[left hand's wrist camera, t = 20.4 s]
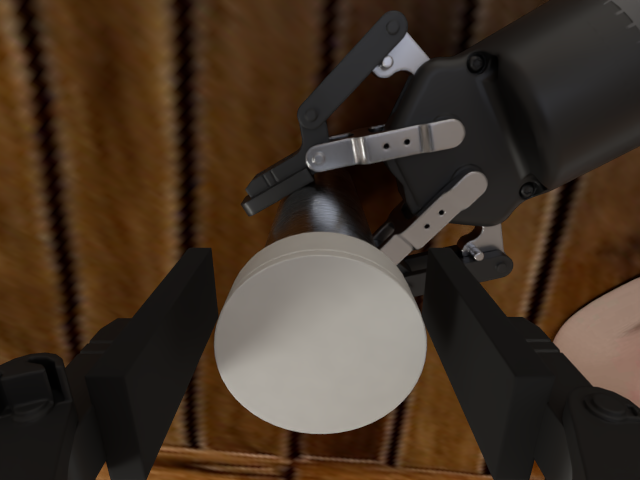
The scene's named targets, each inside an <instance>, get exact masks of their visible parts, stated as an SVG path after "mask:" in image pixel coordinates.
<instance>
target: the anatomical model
mask: <svg viewBox="0 0 640 480" xmlns="http://www.w3.org/2000/svg"><path fill="white" fill-rule="evenodd" d="M553 343H554V344H555V345H556V346H557V347H558V348H559V349H560V353H563V354H564V355H565V356H566V357H567V358H568V359H569V360H570V361H571V363H572V364H573V365H574V366H575V367H576V368H577V369H578V370H579V371H580V372H581V374H582V375H583V376H584V377H585V378H586V379H587V380H588V381H589V382H590V383H591V384H592V386H594V387H600V388H603V389H607V390H610V391H613V392H615V393H617V394H619V395H621V396H623V397H625V398H627V399H629V400H630V401H631V402H633V403H634V404H635V405H637V406H638V407H639V408H640V277H639V278H637V279H634V280H632V281H630V282H628V283H626V284H624V285H622V286H620V287H618V288H616V289H614V290H612V291H610V292H609V293H607V294H605V295H603V296H601V297H600V298H598V299H596V300H594V301H593V302H591V303H590V304H588V305H587V306H585V307H584V308H582V309H580V310H579V311H578V312H577V313H575V314H574V315H573V316H572V317H570V318H569V319H568V320H567V321H566V322H565V323H564V325H563V326H562V327H561V328H560V330H559V331H558V333H557V335H556V336H555V339H554V341H553Z"/></svg>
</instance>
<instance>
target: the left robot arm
mask: <svg viewBox="0 0 640 480" xmlns="http://www.w3.org/2000/svg"><path fill="white" fill-rule="evenodd" d="M217 319H218V308H217V299H216V289H215V279H214V270H213V260H212V250H211V248H189V249H188V250H187V251H186V252H185V254H184V255H183V256H182V257H181V259H180V260H179V261H178V262H177V263H176V265H175V266H174V267H173V268H172V270H171V271H170V272H169V273H168V275H167V276H166V277H165V278H164V279H163V281H162V282H161V283H160V284H159V286H158V287H157V288H156V289H155V290H154V292H153V293H152V294H151V295H150V297H149V298H148V299H147V300H146V302H145V303H144V304H143V305H142V306H141V308H140V309H139V310H138V311H137V313H136V314H135V315H134V316H133V318H118V319H116V320H114V321H113V322H111V323H109V324H108V325H106V326H105V327H103V328H101V329H100V330H99V331H98V333H97V334H96V335H95V336H94V337H93V338H92V339H91V340H90V343H89V344H87V345H86V346H85V347H84V348H83V349H82V350H81V351H80V354H78V355H77V356H76V357H75V358H74V359H73V360H72V361H71V362H70V363H69V364H68V366H67V367H66V368H65V367H64V363H63V359H62V358H61V357H59V356H58V355H56V354H51V353H36V354H29V355H26V356H22V357H19V358H15V359H13V360H11V361H8V362H6V363H4V364H2V365H0V480H95V479H96V477H97V475H98V474H99V472H100V470H101V468H102V467H103V465H104V463H105V461H106V463H107V467H108V471H109V475H110V479H111V480H146V479H147V477H148V475H149V473H150V470H151V468H152V466H153V464H154V461H155V459H156V457H157V455H158V452H159V450H160V448H161V446H162V443H163V441H164V439H165V436H166V434H167V432H168V430H169V427H170V425H171V423H172V421H173V418H174V416H175V414H176V412H177V409H178V407H179V405H180V403H181V400H182V398H183V396H184V394H185V391H186V389H187V387H188V384H189V382H190V380H191V378H192V375H193V373H194V371H195V369H196V366H197V364H198V362H199V360H200V357H201V355H202V353H203V351H204V348H205V346H206V344H207V342H208V339H209V337H210V335H211V332H212V330H213V328H214V326H215V323H216V321H217ZM422 319H423V321H424V323H425V326H426V328H427V330H428V332H429V335H430V337H431V339H432V342H433V344H434V346H435V348H436V351H437V353H438V355H439V357H440V360H441V362H442V364H443V366H444V369H445V371H446V373H447V375H448V378H449V380H450V382H451V384H452V387H453V389H454V391H455V394H456V396H457V398H458V400H459V403H460V405H461V407H462V409H463V412H464V414H465V416H466V418H467V421H468V423H469V425H470V427H471V430H472V432H473V434H474V436H475V439H476V441H477V443H478V446H479V448H480V450H481V452H482V455H483V457H484V459H485V461H486V464H487V466H488V468H489V470H490V473H491V475H492V477H493V479H494V480H529V479H530V475H531V471H532V467H533V463H534V459H535V461H536V463H537V464H538V466H539V468H540V470H541V471H542V473H543V475H544V477H545V480H640V408H639V407H638V406H637V405H635V404H634V403H633V402H631V401H630V400H629V399H627V398H625V397H623V396H621V395H619V394H617V393H615V392H613V391H610V390H607V389H603V388H600V387H594V386H592V384H591V383H590V382H589V381H588V380H587V379H586V378H585V377H584V376H583V375H582V374H581V372H580V371H579V370H578V369H577V368H576V367H575V366H574V365H573V364H572V363H571V361H570V360H569V359H568V358H567V357H566V356H565V355H564V354H563V353H560V349H559V348H558V347H557V346H556V345H555V344H554V343H553V342H551V340H550V338H549V337H548V336H547V335H546V334H545V333H544V332H543V331H542V330H541V329H540V328H539V327H538V326H536V325H535V324H533V323H531V322H530V321H528V320H526V319H525V318H523V317H507V316H506V315H505V314H504V313H503V311H502V310H501V309H500V308H499V306H498V305H497V304H496V303H495V302H494V300H493V299H492V298H491V297H490V295H489V294H488V293H487V292H486V290H485V289H484V288H483V287H482V286H481V284H480V283H479V282H478V281H477V279H476V278H475V277H474V276H473V275H472V273H471V272H470V271H469V270H468V268H467V267H466V266H465V265H464V263H463V262H462V261H461V260H460V259H459V257H458V256H457V255H456V254H455V252H454V251H453V250H452V249H451V248H429V250H428V260H427V270H426V279H425V289H424V299H423V308H422Z"/></svg>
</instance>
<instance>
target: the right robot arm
mask: <svg viewBox="0 0 640 480" xmlns="http://www.w3.org/2000/svg"><path fill="white" fill-rule="evenodd" d="M407 29H408V23H407V20H406V18H405V16H404V15H403V14H402V13H401V12H399V11H389V12H387V13H385V14H384V15H383V16H382V17H381V18H380V19H379V20H378V21H377V23H376V24H375V25H374V26H373V27H372V28H371V29H370V30H369V31H368V32H367V33H366V35H365V36H364V37H363V38H362V39H361V40H360V41H359V42H358V43H357V44H356V46H355V47H354V48H353V49H352V50H351V51H350V52H349V53H348V54H347V55H346V56H345V58H344V59H343V60H342V61H341V62H340V63H339V64H338V65H337V66H336V67H335V69H334V70H333V71H332V72H331V73H330V74H329V75H328V76H327V77H326V78H325V79H324V81H323V82H322V83H321V84H320V85H319V86H318V87H317V88H316V89H315V90H314V91H313V93H312V94H311V95H310V96H309V97H308V98H307V99H306V100H305V101H304V102H303V104H302V105H301V106H300V107H299V109H298V113H297V117H298V121H299V124H300V129H301V135H302V145H301V147H300V148H299V149H298V150H297V151H296V152H294V153H292V154H291V155H289V156H287V157H286V158H284V159H282V160H280V161H279V162H277V163H275V164H274V165H272V166H270V167H269V168H267V169H265V170H263V171H262V172H260V173H258V174H257V175H256V176H255V177H254V178H253V180H252V181H251V182H250V184H249V185H248V186H247V188H246V189H245V190H246V191H247V193H248V195H247V196H246V197H245V199H244V200H243V202H242V203H241V205H242V207H243V209H244V210H245V212H246V213H247V215H248V216H252V215H254V214H256V213H258V212H260V211H261V210H263V209H265V208H267V207H268V206H270V205H272V204H274V203H275V202H277V201H279V200H281V199H283V198H284V197H286V196H288V195H290V194H291V193H293V192H295V191H296V190H298V189H300V188H302V187H304V186H305V185H307V184H309V183H311V182H312V181H314V174H316V173H317V172H322V171H327V170H332V169H337V168H341V167H346V166H351V165H356V164H361V165H365V164H371V163H376V162H381V161H383V162H384V164H385V165H386V167H387V168H388V169H389V170H390V171H391V173H392V174H393V175H394V176H395V177H396V181H397V186H398V190H399V193H400V195H401V197H402V199H403V200H402V201H401V202H400V203H399V204H398V205H397V206H396V207H395V208H394V209H393V210H392V212H391V213H390V215H389V217H388V219H387V220H386V222H385V223H384V224H383V225H381V226H380V227H379V228H378V229H377V230H376V231H375V232H374V233H373V234H372V237H373V240H374V243H375V245H376V248H377V249H379V250H380V251H381V252H383V253H384V254H385V255H386V256H388V257H389V258H390V259H391V261H392V262H393V263H394V264H395V265H396V266H397V267H398V269H399V270H400V271H401V273H402V274H403V276H404V278H405V280H406V282H407V284H408V286H409V288H410V290H411V293H412V295H413V297H415V296H420V295H424V289H425V279H426V270H427V260H428V251H427V252H422V253H418V254H413V255H409V256H407V255H408V254H409V253H410V252H411V251H413V250H418V249H420V248H422V247H423V246H424V245H425V244H426V243H427V242H428V241H429V240H430V239H431V238H433V237H434V236H435V235H436V234H437V233H438V232H439V231H440V230H441V229H442V228H443V227H444V226H445V225H446V224H447V223H453V224H463V225H473V226H475V228H474V229H473V231H472V232H470V233H469V234H466V235H464V236H462V237H460V239H459V240H458V242H457V245H453V246H449V247H444V248H451V249H452V250H453V251H454V252H455V254H456V255H457V256H458V257H459V259H460V260H461V261H462V262H463V263H464V265H465V266H466V267H467V268H468V270H469V271H470V272H471V273H472V275H473V276H474V277H475V278H476V279H477V281H478V282H484V281H488V280H493V279H497V278H502V277H505V276H507V275H508V274H509V273H510V272H511V271H512V269H513V262H512V260H511V259H510V258H509V257H508V256H507V255H506V254H505V252H504V250H503V240H502V230H501V223H502V222H504V221H505V220H506V219H507V218H508V217H509V216H510V215H511V213H512V212H513V211H514V210H515V209H516V208H517V207H518V206H519V205H520V204H521V203H522V202H524V201H525V200H527V199H529V198H532V197H535V196H538V195H541V194H543V193H546V192H549V191H551V190H553V189H555V188H557V187H559V186H561V185H563V184H565V183H567V182H569V181H571V180H573V179H575V178H577V177H579V176H581V175H583V174H585V173H587V172H589V171H591V170H593V169H595V168H597V167H599V166H601V165H603V164H605V163H607V162H609V161H611V160H613V159H615V158H617V157H619V156H621V155H623V154H625V153H627V152H629V151H631V150H633V149H635V148H637V147H639V146H640V0H550V1H548V2H546V3H545V4H543V5H541V6H539V7H538V8H536V9H534V10H533V11H531V12H529V13H528V14H526V15H524V16H523V17H521V18H519V19H517V20H516V21H514V22H512V23H511V24H509V25H507V26H506V27H504V28H502V29H500V30H499V31H497V32H495V33H494V34H492V35H490V36H489V37H487V38H485V39H484V40H482V41H480V42H478V43H477V44H475V45H473V46H472V47H470V48H468V49H467V50H465V51H463V52H461V53H459V54H457V55H455V56H452V57H436V58H432V59H429V58H428V56H427V55H426V54H425V53H424V52H423V50H422V49H421V48H420V47H419V46H418V45H417V43H416V42H415V41H414V40H413V39H412V37H411V36H410V35H409V34H408V33H407ZM397 71H404V72H406V73H407V74H408V75H409V77H408V79H407V81H406V83H405V85H404V88H403V90H402V92H401V94H400V96H399V98H398V100H397V102H396V104H395V106H394V108H393V110H392V112H391V114H390V116H389V118H388V120H387V122H386V123H383V124H378V125H374V126H369V127H364V128H360V129H355V130H352V131H350V132H346V133H342V134H337V135H332V136H329V135H328V129H327V123H326V119H327V118H328V117H329V116H330V115H331V114H332V113H333V112H334V111H335V110H336V109H337V108H338V107H339V106H340V105H341V104H342V103H343V102H344V100H345V99H346V98H347V97H348V96H349V95H350V94H351V93H352V92H353V91H354V90H355V89H356V88H357V87H358V86H359V85H360V84H361V83H362V81H363V80H364V79H365V78H366V77H367V76H368V75H369V74H370V73H372V74H373V75H374V76H375V77H377V78H387V77H390V76H392V75H393V74H394V73H396V72H397ZM425 224H426V225H425Z"/></svg>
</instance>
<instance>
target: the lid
mask: <svg viewBox="0 0 640 480" xmlns="http://www.w3.org/2000/svg"><path fill="white" fill-rule="evenodd" d="M214 351H215V358H216V363H217V367H218V370H219V372H220V375H221V377H222V379H223V381H224V383H225V384H226V386H227V388H228V389H229V391H230V392H231V393H232V394H233V396H234V397H235V398H236V399H237V400H238V401H239V402H240V403H241V404H242V405H243V406H244V407H245V408H246V409H248V410H249V411H250V412H252V413H253V414H254V415H256V416H258V417H259V418H261V419H263V420H264V421H267V422H269V423H271V424H273V425H276V426H278V427H282V428H285V429H288V430H292V431H297V432H303V433H311V434H328V433H339V432H344V431H349V430H353V429H356V428H360V427H363V426H365V425H368V424H370V423H372V422H374V421H376V420H378V419H380V418H382V417H383V416H385V415H386V414H388V413H389V412H391V411H392V410H393V409H395V408H396V407H397V406H398V405H399V404H400V403H401V402H402V401H403V400H404V399H405V398H406V397H407V396H408V394H409V393H410V392H411V391H412V389H413V388H414V386H415V384H416V383H417V381H418V379H419V377H420V375H421V372H422V369H423V366H424V363H425V359H426V351H427V335H426V330H425V324H424V322H423V319H422V316H421V313H420V311H419V309H418V306H417V304H416V302H415V299H414V297H413V295H412V293H411V290H410V288H409V286H408V284H407V282H406V280H405V278H404V276H403V274H402V273H401V271H400V270H399V269H398V267H397V266H396V265H395V264H394V263H393V262H392V261H391V259H390V258H389V257H388V256H386V255H385V254H384V253H383V252H381V251H380V250H379V249H377V248H376V247H374V246H372V245H370V244H369V243H367V242H365V241H362V240H360V239H358V238H355V237H352V236H348V235H344V234H340V233H333V232H309V233H301V234H297V235H293V236H289V237H286V238H284V239H281V240H278V241H276V242H274V243H272V244H270V245H269V246H267V247H265V248H264V249H262V250H261V251H260V252H258V253H257V254H256V255H255V256H254V257H252V258H251V259H250V260H249V261H248V262H247V264H246V265H245V266H244V267H243V269H242V270H241V271H240V273H239V274H238V276H237V278H236V280H235V281H234V284H233V286H232V288H231V290H230V293H229V295H228V297H227V300H226V302H225V304H224V306H223V309H222V311H221V314H220V316H219V319H218V321H217V325H216V330H215V336H214Z"/></svg>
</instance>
